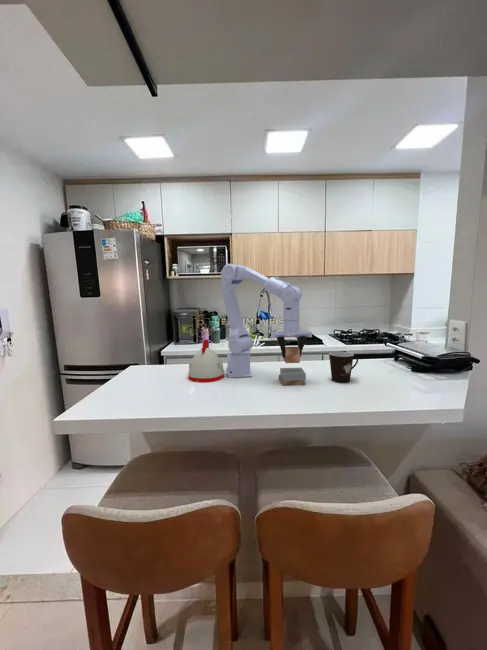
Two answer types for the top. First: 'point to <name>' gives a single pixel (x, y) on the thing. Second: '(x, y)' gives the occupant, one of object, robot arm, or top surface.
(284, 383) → the walnut slab
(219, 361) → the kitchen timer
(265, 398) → the top surface
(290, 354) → the terracotta cube
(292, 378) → the slate slab
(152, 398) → the top surface
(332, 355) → the coffee mug
